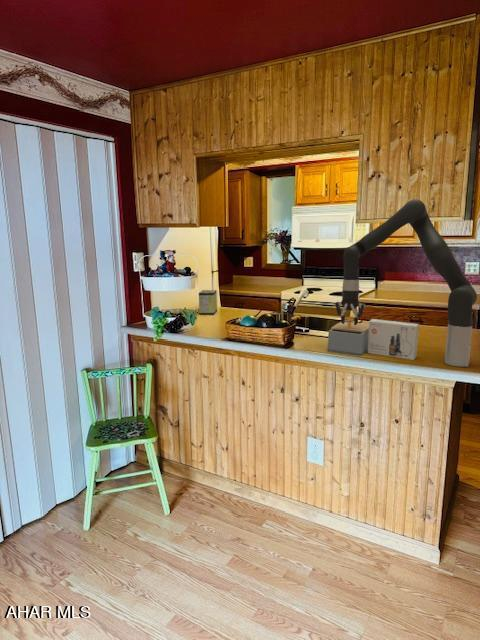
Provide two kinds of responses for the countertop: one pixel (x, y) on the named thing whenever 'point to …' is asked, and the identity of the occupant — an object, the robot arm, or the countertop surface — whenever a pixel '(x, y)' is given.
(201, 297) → the protein box
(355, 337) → the carton
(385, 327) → the skincare box
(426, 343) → the countertop surface
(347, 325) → the carton lid
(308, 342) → the countertop surface
